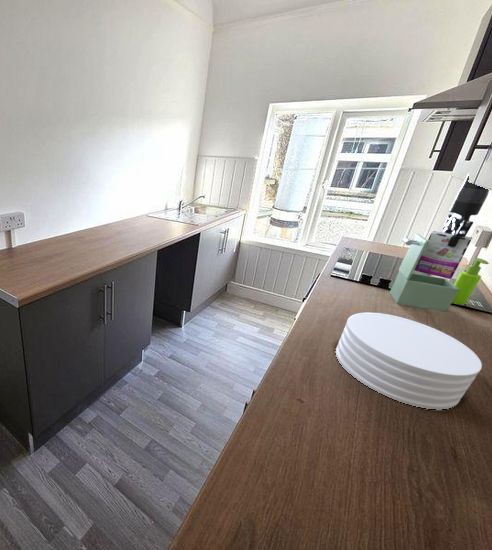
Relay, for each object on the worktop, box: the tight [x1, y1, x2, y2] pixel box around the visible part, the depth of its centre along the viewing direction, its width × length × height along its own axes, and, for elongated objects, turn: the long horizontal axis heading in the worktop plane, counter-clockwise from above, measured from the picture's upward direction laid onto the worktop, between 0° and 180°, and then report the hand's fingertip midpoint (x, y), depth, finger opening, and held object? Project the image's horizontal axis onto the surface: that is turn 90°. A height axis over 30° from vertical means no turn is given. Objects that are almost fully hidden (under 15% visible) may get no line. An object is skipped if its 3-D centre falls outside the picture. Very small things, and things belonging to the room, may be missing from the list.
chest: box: [389, 270, 459, 313], centre depth 124 cm, size 16×12×11 cm
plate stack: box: [334, 311, 483, 411], centre depth 84 cm, size 28×28×12 cm
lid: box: [398, 233, 429, 280], centre depth 122 cm, size 16×12×5 cm
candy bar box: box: [414, 230, 473, 280], centre depth 117 cm, size 11×5×16 cm, turn 40°
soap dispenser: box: [451, 257, 490, 305], centre depth 123 cm, size 6×7×20 cm
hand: (447, 243), depth 115 cm, fingers closed on candy bar box, 6 cm apart
